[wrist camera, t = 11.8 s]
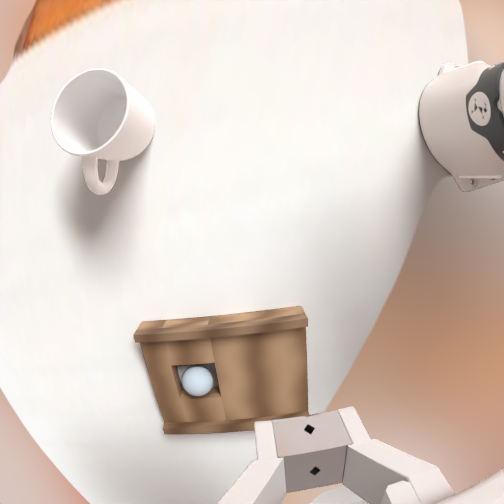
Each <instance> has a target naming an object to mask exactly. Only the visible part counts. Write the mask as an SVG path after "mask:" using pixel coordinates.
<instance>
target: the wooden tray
mask: <svg viewBox="0 0 504 504" xmlns="http://www.w3.org/2000/svg"><path fill="white" fill-rule="evenodd" d="M307 326H308V318H307V316H306V314H305V313H304V311H303V309H302V307H301V306H296V307H289V308H281V309H273V310H264V311H256V312H247V313H238V314H228V315H218V316H208V317H197V318H185V319H173V320H159V321H145V322H141V324H140V326H139V327H138V329H137V330H136V332H135V333H134V335H133V336H134V339H135V343H139V342H140V344H141V348H142V351H143V355H144V359H145V362H146V366H147V369H148V372H149V376H150V379H151V382H152V386H153V389H154V392H155V395H156V398H157V401H158V404H159V408H160V410H161V413H162V416H163V419H164V422H165V423H164V427H163V431H164V434H207V433H225V432H238V431H250V430H255V427H254V424H255V422H258V421H270V420H271V421H272V420H276V419H285V418H293V417H301V416H307V415H309V412H308V383H307V350H306V327H307ZM205 363H215V368H216V373H217V378H218V383H219V387H215V388H211V390H210V391H209V392H208V393H207V394H205V395H203V396H193V395H191V394H189V393H188V392H187V391H186V390H185V389H182V385H181V381H180V377H179V373H178V369H177V365H190V364H205Z"/></svg>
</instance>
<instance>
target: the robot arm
mask: <svg viewBox="0 0 504 504" xmlns="http://www.w3.org/2000/svg"><path fill="white" fill-rule="evenodd" d="M419 117H420V125H421V129H422V133H423V136H424V139H425V141H426V143H427V146H428V148H429V149H430V151H431V153H432V154H433V156H434V157H435V159H436V160H437V161H438V162H439V163H440V164H441V165H442V166H443V167H444V168H445V169H446V170H448V171H449V172H450V173H451V174H452V176H453V178H454V180H455V181H456V183H457V185H458V187H459V188H460V190H461V191H463V192H468V191H469V192H470V191H473V190H476V189H479V188H482V187H485V186H488V185H491V184H494V183H497V182H500V181H503V180H504V62H501V63H497V64H495V65H493V66H490V65H488V64H485V63H484V62H483V61H477V62H473V63H470V64H466V65H463V66H458V65H456V64H454V63H452V62H447V63H444V64H443V65H442V67H441V69H440V72H439V75H438V76H437V77H436V78H435V79H433V80H432V81H431V82H430V83H429V84H428V85H427V86H426V87H425V89H424V91H423V93H422V96H421V100H420V106H419ZM471 180H472V183H471ZM254 427H255V439H256V451H257V460H256V461H252V462H251V463H250V464H249V466H248V467H247V468H246V469H245V471H244V472H243V473H242V474H241V476H240V477H239V478H238V479H237V481H236V482H235V483H234V484H233V485H232V487H231V488H230V489H229V490H228V491H227V493H226V494H225V495H224V496H223V497H222V498H221V500H220V501H219V502H218V503H217V504H281V503H282V501H283V499H284V498H285V495H286V493H289V492H294V491H300V490H306V489H311V488H316V487H322V486H328V485H333V484H338V483H343V485H345V486H346V487H347V488H349V489H350V490H351V491H353V492H354V493H355V494H357V495H358V496H359V497H361V498H362V499H363V500H365V501H366V502H368V503H369V504H504V467H503V468H502V469H500V470H499V471H497V472H496V473H494V474H492V475H490V476H489V477H487V478H485V479H484V480H482V481H480V482H478V483H477V484H475V485H473V486H471V487H469V488H467V489H465V490H463V491H461V492H460V493H457V494H455V493H454V491H453V490H452V488H451V487H450V485H449V484H448V482H447V481H446V479H445V478H444V476H443V474H442V473H441V471H440V470H439V468H438V467H437V466H435V465H433V464H430V463H428V462H426V461H423V460H421V459H419V458H417V457H414V456H412V455H410V454H407V453H405V452H403V451H401V450H399V449H397V448H394V447H392V446H390V445H388V444H386V443H384V442H382V441H380V440H377V439H372V440H371V439H370V437H369V435H368V433H367V431H366V429H365V427H364V425H363V423H362V421H361V419H360V417H359V415H358V413H357V411H356V410H355V408H354V407H353V406H350V407H346V408H342V409H337V410H333V411H329V412H323V413H318V414H312V415H307V416H301V417H293V418H285V419H276V420H272V421H271V420H270V421H258V422H255V424H254Z"/></svg>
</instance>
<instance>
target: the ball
mask: <svg viewBox="0 0 504 504" xmlns="http://www.w3.org/2000/svg"><path fill="white" fill-rule="evenodd" d="M182 385H183V387H184V389H185V390H186V391H187V392H188V393H189V394H191V395H193V396H203V395H205V394H207V393H208V392H209V391H210V390H211V388H212V386H213V378H212V375H211V373H210V372H209V371H208V370H207V369H206V368H204V367H201V366H193V367H190V368H188V369H187V370H186V371H185V372H184V374H183V376H182Z"/></svg>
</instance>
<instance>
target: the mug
mask: <svg viewBox="0 0 504 504" xmlns="http://www.w3.org/2000/svg"><path fill="white" fill-rule="evenodd" d="M155 124H156V122H155V115H154V112H153V109H152V107H151V105H150V104H149V103H148V101H147V100H146V99H145V98H144V97H142V96H141V95H140V94H139V93H138V92H137V91H136V90H135V89H134V88H133V87H131V86H130V85H129V84H128V83H127V82H126V81H125V80H124V79H123V78H121V77H120V76H119V75H118V74H116V73H115V72H113V71H111V70H108V69H102V68H95V69H90V70H86V71H84V72H81V73H79V74H78V75H76V76H75V77H73V78H72V79H71V80H69V81H68V82H67V83H66V84H65V86H64V87H63V88H62V89H61V91H60V92H59V94H58V96H57V97H56V100H55V102H54V105H53V108H52V112H51V130H52V134H53V136H54V139H55V140H56V142H57V144H58V145H59V146H60V147H61V148H62V149H63V150H65V151H66V152H68V153H70V154H73V155H78V156H82V166H83V174H84V179H85V181H86V184H87V186H88V188H89V189H90V190H91V191H92V192H93V193H94V194H97V195H104V194H106V193H108V192H109V191H110V190H111V189H112V187H113V186H114V183H115V181H116V178H117V174H118V168H119V161H124V160H128V159H131V158H133V157H135V156H137V155H139V154H140V153H141V152H142V151H143V150H144V149H145V148H146V147H147V146H148V145H149V143H150V141H151V139H152V137H153V135H154V131H155ZM98 159H104V160H107V166H106V174H105V177H104V180H103V182H101V181H100V179H99V176H98Z"/></svg>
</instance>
